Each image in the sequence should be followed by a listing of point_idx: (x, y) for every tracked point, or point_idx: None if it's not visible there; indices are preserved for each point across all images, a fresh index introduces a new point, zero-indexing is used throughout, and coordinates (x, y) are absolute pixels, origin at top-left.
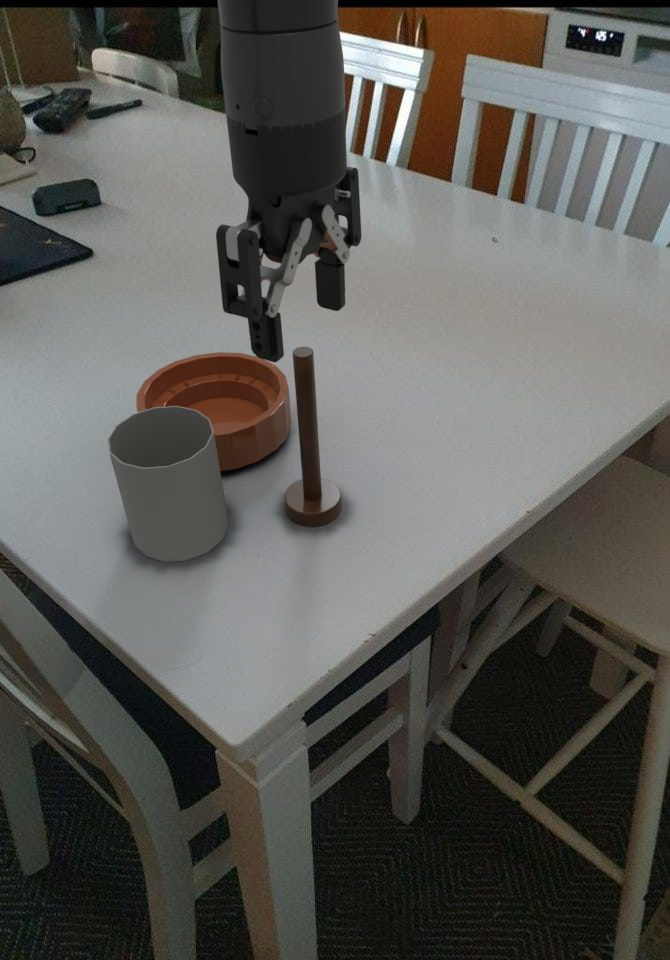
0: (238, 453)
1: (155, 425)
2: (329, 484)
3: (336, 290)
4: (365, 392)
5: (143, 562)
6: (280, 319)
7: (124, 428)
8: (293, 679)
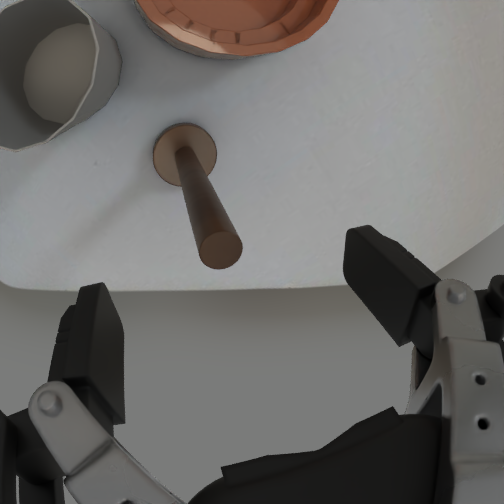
0: (180, 46)
1: (70, 5)
2: (210, 158)
3: (368, 299)
4: (374, 80)
5: None
6: (123, 408)
7: (20, 5)
8: (43, 279)
